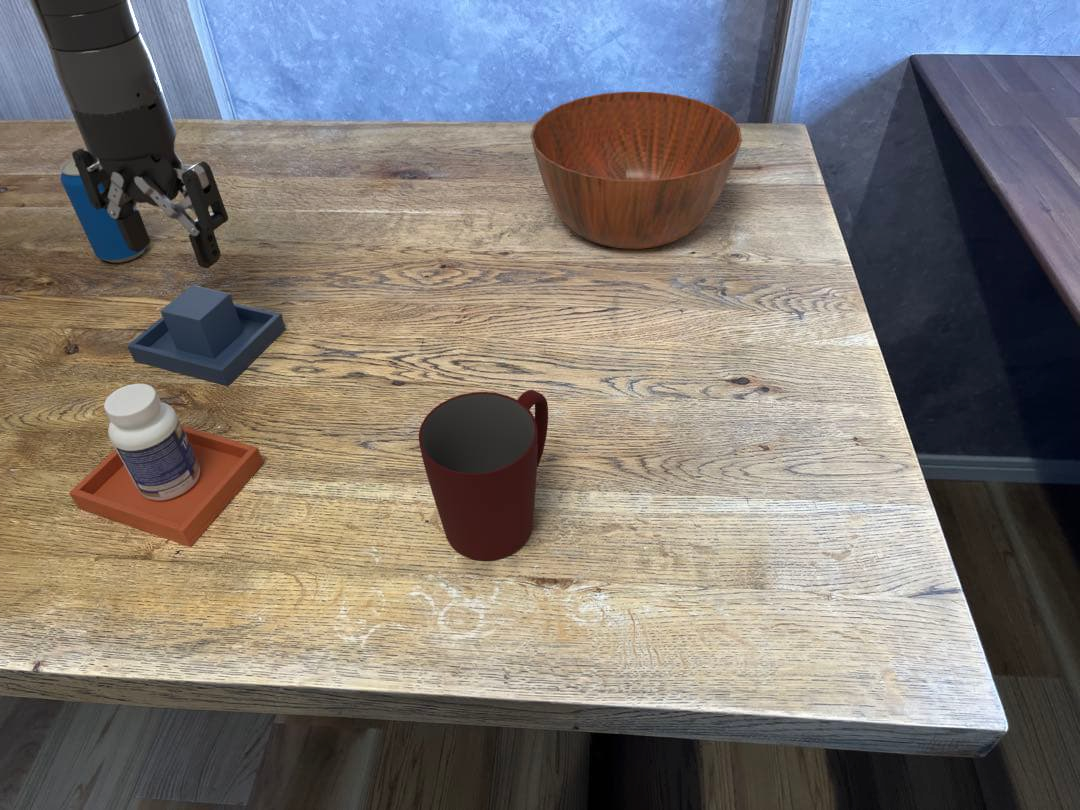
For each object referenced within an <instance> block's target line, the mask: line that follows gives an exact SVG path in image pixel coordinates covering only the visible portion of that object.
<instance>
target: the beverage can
mask: <svg viewBox="0 0 1080 810" xmlns="http://www.w3.org/2000/svg"><path fill="white" fill-rule="evenodd" d="M59 168H60V172H61V174H60V182H61V184H62V186H63V188H64V190H65V193H66V195H67V197H68V199H69V201H70V203H71V206H72V207H73V210H74V212H75V214H76V217H77V218H78V220H79V221H78V222H79V223H80V225H81V227H82V229H83V232H84V234H85V236H86V238H87V240H88V242H89V244H90V247H91V249H92V251H93V253H94V255H95V257H96V258H98V259H99V260H101V261H106V262H108V263H114V264H115V263H116V264H119V263H126V262H129V261H132V260H135V259H136V258H138V257H140V256H141V255H142V254H143V253H144V252H145V250H146V249H147V248H148V246H146V247H145V248H143V249H142V250H141V251H139V252H135V251H131V250H129V248H128V245H127V243H126V242H125V241H124V239H123V236H122V234H121V232H120V229H119V227H118V224H117V222H116V220H115V219H114V218H112V217H111V216H110V215H109V214H108V212H107V210H105V209H103V208H101V209H100V210H97V209H95V208H94V207H93V206H92V205H91V203H90V200H89V198H88V195H87V192H86V190H85V187H84V185H83V182H82V179H81V177H80V174H79V172H78V169H77V166H76V164H75V161H74V159H73V156H72V157H70V158H68V159H66V160H65V161H63V162H62V164H60V166H59ZM98 189H99V191H100V193H101V192H102V191H104V189H103V186H102V183H100V184H99V185H98ZM133 209H136V210H138V208H137V207H136V206H135V207H134V208H133Z"/></svg>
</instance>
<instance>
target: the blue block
mask: <svg viewBox="0 0 1080 810" xmlns="http://www.w3.org/2000/svg"><path fill="white" fill-rule="evenodd" d="M234 303H235V302H234V301H233V297H232V295H231V293H230V292H225V291H222V290H221V291H220V290H217V289H211V288H207V287H204V286H199V285H194V284H192V285H191V286H189V287H188V288H186V290H184V291H183V292H182V293H181V294H179V295H178V296H177V297H175V298H174V299H173V300H172V301H171V302H169V303H168V304H167V305H166V306H165V307H163V308H161V310H160V314H161V317H163V318H164V321H165V323H166V325H167V328H168V330H169V332H170V335H171V337H172V339H173V342H174V344H175V347H176V349H179V350H183V351H187V352H190V353H194V354H198V355H202V356H206V357H210V358H215V357H217V356H218V355H219V354H220V353H221V352H222V351H223V350H224V349H225V348H226V347H227V346H228V345H229V344H230V343H232V342H233V341H234V340H235V339H236V338H237V337H238V336H239V335H240V334H241V333H242V332H243V329H242V326H241V323H240V320H239V318H238V315H237V312H236V309H235V306H234Z"/></svg>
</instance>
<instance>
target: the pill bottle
mask: <svg viewBox="0 0 1080 810" xmlns="http://www.w3.org/2000/svg"><path fill="white" fill-rule="evenodd" d="M103 407H104V411H105V413H106V415H107V418H108V420H109V421H110V422H109V425H108V429H107V433H108V437H109V439H110V442H111V444H112V445H113V447H114V450H115V449H116V451H117V453H118V454H119V456H120V458H121V460H122V461H123V463H124V465H125V467H126V469H127V471H128V472H129V474H130V476H131V478H132V480H133V482H134V484H135V486H136V487H137V489H138V490H139V492H140V493H141V494H142V495H143V496H144V497H146V498H147V499H150V500H155V501H163V500H169V499H172V498H175V497H178V496H180V495H182V494H184V493H185V492H187V491H188V490H189V489H190V488H192V487H193V486H194V485H195V483H196V482H197V480H198V478H199V475H200V466H199V464H198V461H197V459H196V457H195V454H194V452H193V450H192V448H191V445H190V443H189V441H188V439H187V436H186V434H185V432H184V430H183V428H182V426H183V425H182V424H181V421H180V420H179V416H178V415H177V413H176V411H175V410H174V408H173V407H172V406H171V405H169V404H168V403H165V402H163V401H161V399H160V397H159V395H158V393H157V392H156V390H155V388H154V387H153V386H151V385H150V384H146V383H132V384H128V385H125V386H122V387H119V388H118V389H116V390H114V391H113V392H111V393H110V395H108V396H107V397H106V399H105V401H104V404H103ZM181 425H182V426H181Z"/></svg>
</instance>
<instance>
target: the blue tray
mask: <svg viewBox="0 0 1080 810" xmlns="http://www.w3.org/2000/svg"><path fill="white" fill-rule="evenodd" d="M233 303H234V306H235V309H236V312H237V315H238V318H239V320H240V323H241V326H242V329H243V332H242V333H241V334H240V335H239V336H238V337H237V338H236V339H235V340H234V341H233V342H232V343H230V344H229V345H228V346H227V347H226V348H225V349H224V350H223V351H222V352H221V353H220V354H219V355H218V356H217V357H215V358H210V357H206V356H202V355H198V354H194V353H190V352H187V351H183V350H179V349H176V347H175V344H174V342H173V339H172V337H171V335H170V332H169V330H168V328H167V325H166V323H165V321H164V318H163V316H161V317H160V318H159V319H158V320H157V321H155V322H154V323H153V324H151V325H150V326H149V327H148V328H147V329H146V330H144V331H143V332H142V333H141V334H139V335H138V336H137V337H136V338H135V339H133V340H132V341H131V342H129V344H127V345H126V347H127V349H128V351H129V354H130V355H131V357H132V360H133V361H134V362H136V363H139V364H143V365H147V366H151V367H154V368H159V369H163V370H166V371H171V372H174V373H177V374H181V375H185V376H187V377H193V378H195V379H199V380H204V381H207V382H211V383H214V384H219V385H221V386H222V385H223V386H226V387H229V386H230V385H231V384H232V383H233V382H234V381H235V380H236V379H237V378H238V377H239V376H241V374H242V373H243V372H244V371H245V370H247V369H248V367H249V366H251V364H252V363H253V362H254V361H255V360H256V359H257V358H258V357H260V356H261V354H262V353H263V352H264V351H265V350H266V349H268V347H269V346H270V345H271V344H273V342H275V341H276V339H277V338H279V337H280V336H281V334H282V333H283V332H285V331H286V329H287V328H286V325H285V321H284V318H283V314H282V313H280V312H276V311H272V310H267V309H263V308H258V307H254V306H249V305H246V304H240V303H237V302H233Z"/></svg>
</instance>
